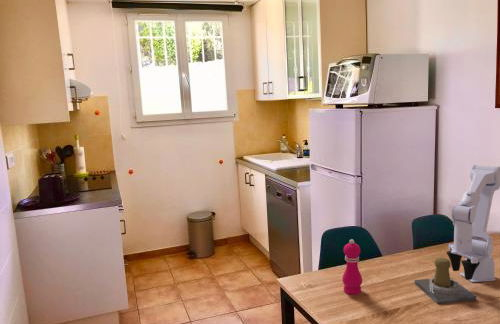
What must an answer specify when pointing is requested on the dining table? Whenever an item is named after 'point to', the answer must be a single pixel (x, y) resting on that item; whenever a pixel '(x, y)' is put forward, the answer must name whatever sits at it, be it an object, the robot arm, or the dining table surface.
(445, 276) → the cork
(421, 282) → the plate
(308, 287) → the dining table surface
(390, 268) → the dining table surface
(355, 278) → the pepper mill
